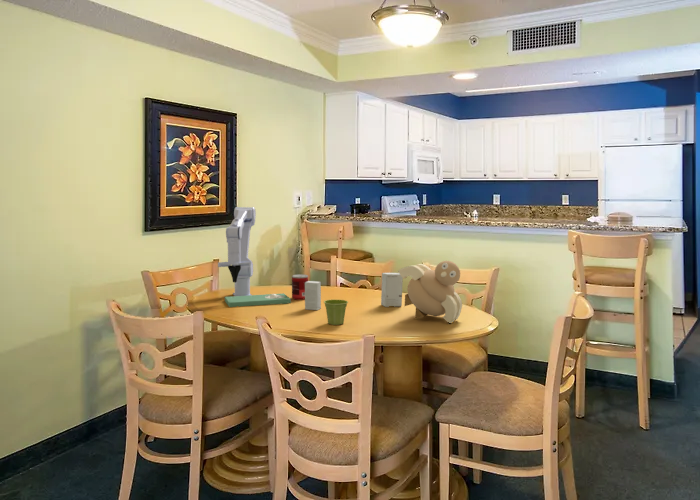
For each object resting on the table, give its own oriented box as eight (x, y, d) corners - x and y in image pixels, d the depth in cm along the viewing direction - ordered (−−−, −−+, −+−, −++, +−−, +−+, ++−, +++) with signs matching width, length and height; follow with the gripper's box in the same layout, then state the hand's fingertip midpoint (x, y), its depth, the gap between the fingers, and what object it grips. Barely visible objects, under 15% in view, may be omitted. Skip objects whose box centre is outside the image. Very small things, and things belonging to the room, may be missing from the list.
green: (224, 301, 257) (224, 296, 257) (283, 297, 267) (283, 293, 267) (229, 307, 244) (229, 302, 244) (290, 303, 254) (290, 298, 254)
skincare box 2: (385, 307, 247) (385, 274, 245) (380, 304, 252) (381, 272, 251) (402, 306, 249) (403, 273, 248) (397, 303, 255) (398, 271, 253)
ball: (273, 291, 259) (279, 294, 259) (270, 296, 260) (276, 300, 260) (270, 294, 255) (276, 298, 255) (267, 300, 257) (273, 303, 257)
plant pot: (323, 320, 221) (323, 299, 220) (346, 320, 221) (347, 299, 220) (324, 326, 211) (324, 304, 210) (348, 326, 212) (348, 303, 211)
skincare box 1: (321, 308, 243) (321, 281, 242) (317, 310, 239) (317, 283, 238) (308, 307, 245) (308, 280, 244) (304, 309, 241) (304, 282, 240)
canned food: (309, 296, 269) (309, 274, 268) (306, 300, 261) (306, 277, 260) (293, 296, 270) (293, 274, 269) (290, 299, 262) (290, 276, 261)
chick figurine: (420, 239, 214) (443, 235, 233) (377, 288, 226) (403, 280, 245) (475, 296, 204) (494, 287, 223) (426, 344, 216) (449, 332, 235)
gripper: (219, 254, 246) (219, 284, 248) (251, 253, 251) (251, 282, 253) (217, 252, 253) (217, 281, 254) (248, 251, 258) (249, 280, 259)
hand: (234, 282), depth 254 cm, fingers closed
